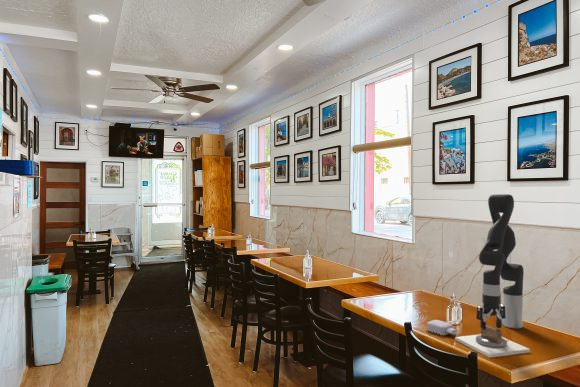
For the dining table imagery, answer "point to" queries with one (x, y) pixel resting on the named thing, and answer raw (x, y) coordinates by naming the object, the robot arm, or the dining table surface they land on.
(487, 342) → the dial
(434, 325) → the grey elongated piece
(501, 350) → the dial plate
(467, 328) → the dining table surface
